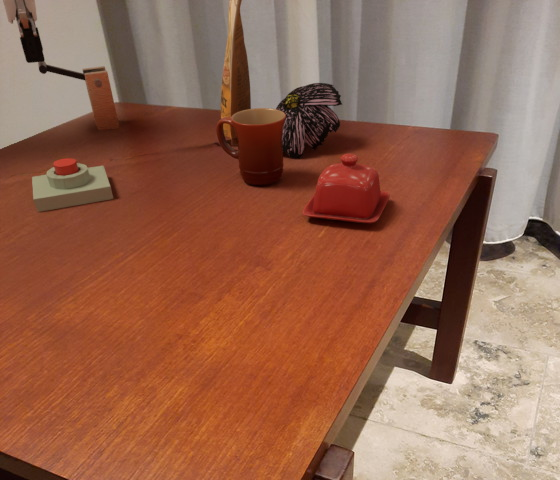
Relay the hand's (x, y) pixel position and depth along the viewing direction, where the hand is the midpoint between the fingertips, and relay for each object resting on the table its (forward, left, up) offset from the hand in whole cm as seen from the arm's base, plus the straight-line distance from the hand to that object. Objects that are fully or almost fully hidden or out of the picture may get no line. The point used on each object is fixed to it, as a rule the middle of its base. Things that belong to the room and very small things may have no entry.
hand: (35, 56), depth 105 cm
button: (-7, -30, -12) cm, 33 cm away
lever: (+5, -2, -5) cm, 7 cm away
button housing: (-7, -30, -15) cm, 34 cm away
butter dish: (+24, -64, -15) cm, 70 cm away
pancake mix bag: (+31, -22, -15) cm, 41 cm away
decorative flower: (+36, -37, -15) cm, 54 cm away
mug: (+20, -44, -15) cm, 50 cm away
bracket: (+10, -3, -15) cm, 18 cm away
